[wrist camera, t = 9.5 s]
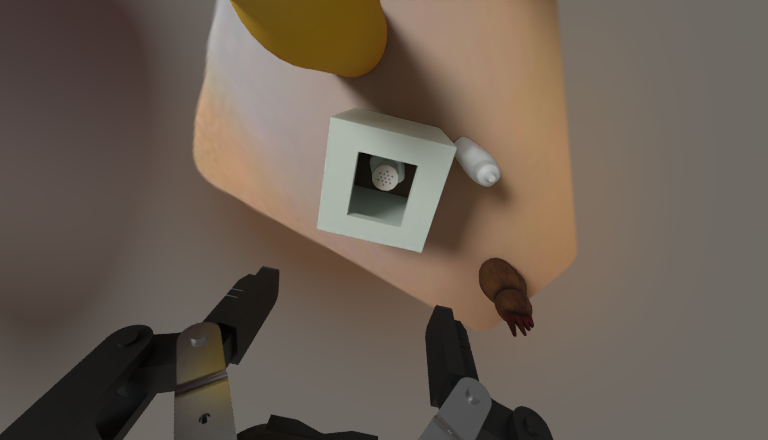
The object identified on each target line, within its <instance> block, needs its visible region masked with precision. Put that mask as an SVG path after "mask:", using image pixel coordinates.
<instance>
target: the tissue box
mask: <svg viewBox="0 0 768 440" xmlns="http://www.w3.org/2000/svg"><path fill="white" fill-rule="evenodd" d="M456 149H457V147H456V146H455V145H454V144H453V142H452V141H451V140H450V139H449V138H448V137H447V136H446V134H445V133H444V132H443V131H442V130H441V129H440V128H438V127H434V126H430V125H426V124H422V123H418V122H414V121H410V120H406V119H401V118H397V117H393V116H389V115H385V114H381V113H377V112H373V111H369V110H365V109H361V108H357V107H356V108H353V109H350V110H348V111H345V112H342V113H340V114H337V115H335V116H332V117H331V120H330V128H329V136H328V144H327V152H326V160H325V168H324V176H323V184H322V192H321V200H320V208H319V216H318V224H317V229H320V230H324V231H328V232H333V233H337V234H342V235H346V236H350V237H355V238H359V239H363V240H368V241H372V242H377V243H381V244H385V245H390V246H394V247H399V248H403V249H407V250H412V251H416V252H420V253H421V252H422V249H423V246H424V243H425V240H426V237H427V234H428V232H429V229H430V226H431V223H432V220H433V217H434V214H435V211H436V208H437V205H438V202H439V199H440V196H441V193H442V190H443V187H444V184H445V182H446V179H447V176H448V173H449V170H450V167H451V164H452V161H453V158H454V155H455V152H456ZM359 152H363V153H367V154H371V155H375V156H380V157H384V158H388V159H392V160H396V161H400V162H405V163H409V164H413V165H417V169H416V172H415V176H414V179H413V183H412V187H411V190H410V194H409V197H408V198H406V197H402V196H398V195H394V194H389V193H385V192H381V191H377V190H372V189H368V188H364V187H360V186H355V185H353V184H354V178H355V172H356V167H357V161H358V156H359Z"/></svg>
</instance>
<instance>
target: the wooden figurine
mask: <svg viewBox="0 0 768 440" xmlns="http://www.w3.org/2000/svg"><path fill="white" fill-rule="evenodd" d="M479 283H480V287H481V289H482V291H483V292H484V294H485V295H486V296H487V297H488V298H489V299H490V300H491V301H492V302H493V303H495V307H496V310H497V312H498V314H499V315H500V316H501V318H502V319H503V320H505V321H506V322H507V323H508V325H509V327H510V330H511V332H512V334H513V336H515V337H516V326H515V324H516V325H517V326H518V328H519V329H520V331H521V332H522V333H523V335H524V336H526V331H525V328H526V329H527V330H528V331H530V327H531V328H533V327H534V323H533V320H532V316H531V315H532V305H531V303H530V301H529V299H528V298H527V292H526V283H525V281H524V279H523V277H522V276H521V275H520V274H519V273H518V272H517V271H516V269H515V268H513V267H512V266H511V265H510V264H508V263H507V262H506V261H504V260H502V259H499V258H491V259H489V260H487V261H485V262H484V263H483V264H482V266H481V268H480V270H479ZM524 327H525V328H524Z"/></svg>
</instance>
